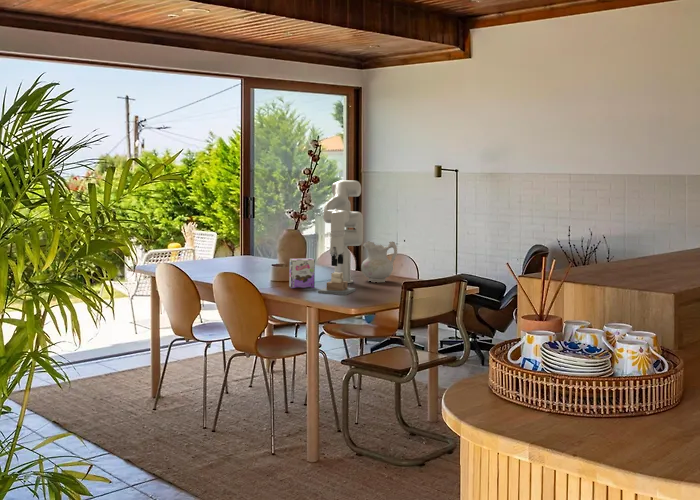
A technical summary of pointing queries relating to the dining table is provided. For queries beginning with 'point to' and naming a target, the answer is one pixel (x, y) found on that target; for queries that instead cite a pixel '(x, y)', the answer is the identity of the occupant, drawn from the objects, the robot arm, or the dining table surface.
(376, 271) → the ceramic pitcher
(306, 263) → the candy box
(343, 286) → the grey brown stepped pedestal
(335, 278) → the maple cube
